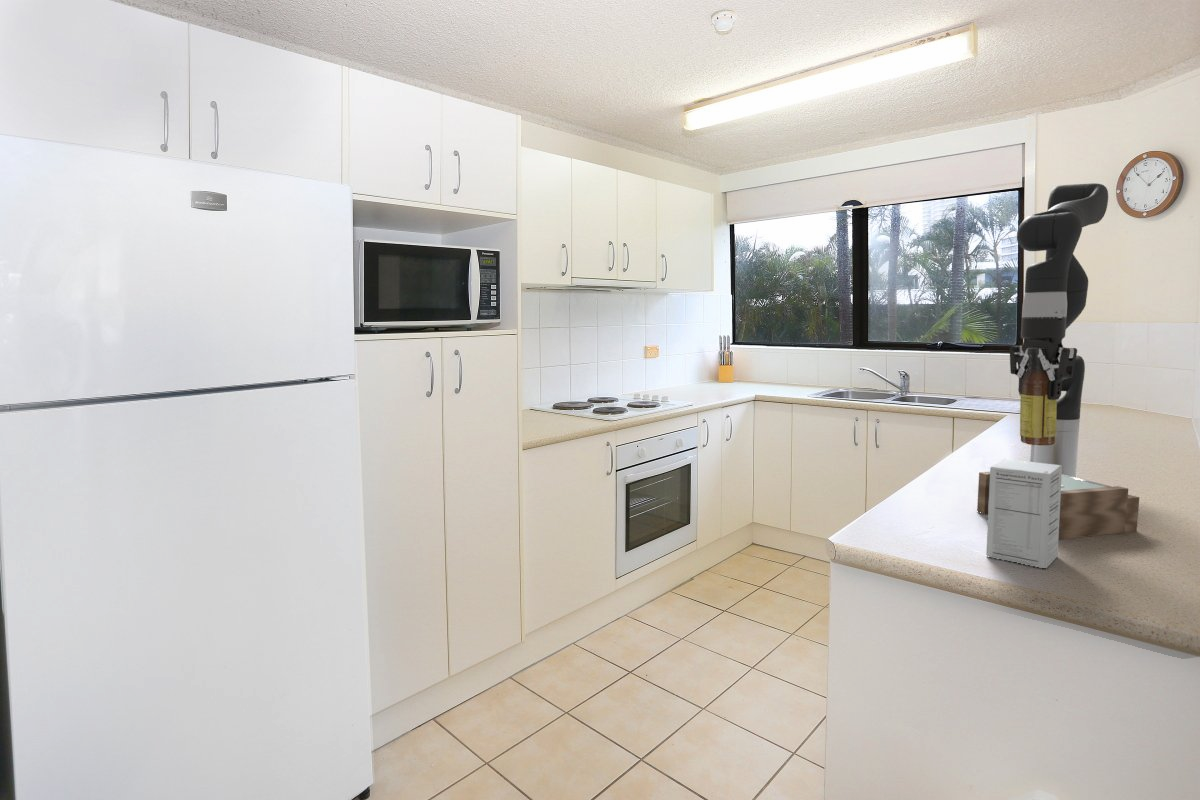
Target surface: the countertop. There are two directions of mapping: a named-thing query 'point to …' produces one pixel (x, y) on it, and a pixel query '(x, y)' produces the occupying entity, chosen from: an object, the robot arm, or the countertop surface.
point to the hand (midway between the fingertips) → (1038, 397)
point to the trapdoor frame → (1084, 509)
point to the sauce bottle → (1036, 404)
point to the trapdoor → (1078, 483)
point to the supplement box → (1024, 512)
